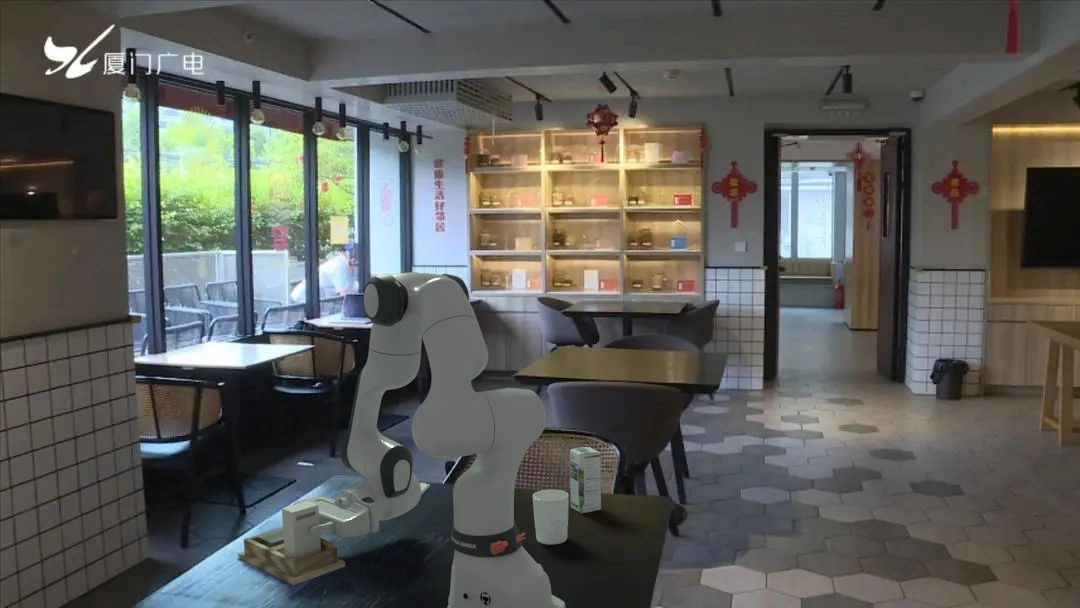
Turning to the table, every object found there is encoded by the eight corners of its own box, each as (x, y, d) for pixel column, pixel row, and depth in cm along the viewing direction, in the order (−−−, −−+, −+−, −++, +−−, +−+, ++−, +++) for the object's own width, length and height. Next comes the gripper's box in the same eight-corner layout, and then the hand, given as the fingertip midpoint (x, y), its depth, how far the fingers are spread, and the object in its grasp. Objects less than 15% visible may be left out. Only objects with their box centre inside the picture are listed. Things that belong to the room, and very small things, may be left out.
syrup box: (569, 507, 210) (568, 449, 209) (591, 503, 213) (589, 445, 211) (580, 514, 205) (579, 454, 204) (602, 510, 208) (601, 451, 206)
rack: (345, 566, 178) (344, 544, 177) (293, 585, 169) (291, 562, 169) (288, 541, 193) (287, 521, 192) (238, 557, 184) (236, 536, 184)
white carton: (321, 561, 178) (318, 504, 177) (295, 570, 174) (292, 512, 173) (310, 556, 181) (307, 500, 180) (285, 565, 177) (281, 508, 176)
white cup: (527, 542, 188) (526, 498, 187) (544, 530, 195) (542, 487, 194) (559, 548, 184) (558, 502, 183) (575, 535, 191) (574, 491, 190)
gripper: (326, 485, 193) (270, 501, 183) (381, 504, 179) (324, 522, 169) (328, 513, 194) (271, 530, 184) (383, 533, 180) (325, 553, 170)
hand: (297, 526), depth 176 cm, fingers open, 8 cm apart
